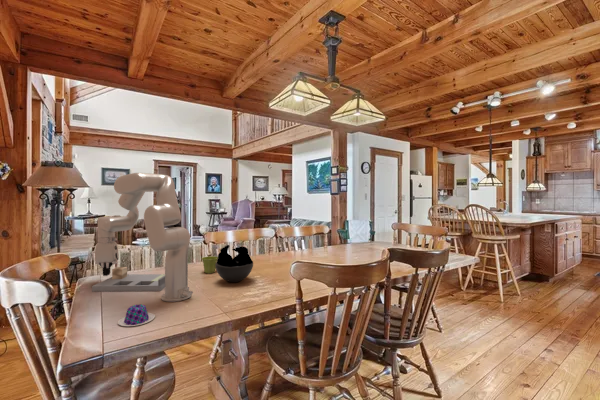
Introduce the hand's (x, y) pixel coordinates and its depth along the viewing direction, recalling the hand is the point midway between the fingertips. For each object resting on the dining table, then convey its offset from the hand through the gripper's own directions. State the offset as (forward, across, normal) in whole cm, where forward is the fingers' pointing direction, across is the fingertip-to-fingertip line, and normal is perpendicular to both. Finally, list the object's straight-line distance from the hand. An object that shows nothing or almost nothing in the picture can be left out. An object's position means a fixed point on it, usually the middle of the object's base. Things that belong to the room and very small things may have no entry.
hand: (106, 275), depth 156 cm
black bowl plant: (+4, -66, -1) cm, 67 cm away
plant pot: (+4, -48, -20) cm, 53 cm away
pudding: (+4, -39, +48) cm, 62 cm away
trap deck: (+4, -18, +4) cm, 19 cm away
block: (+1, -7, 0) cm, 7 cm away
